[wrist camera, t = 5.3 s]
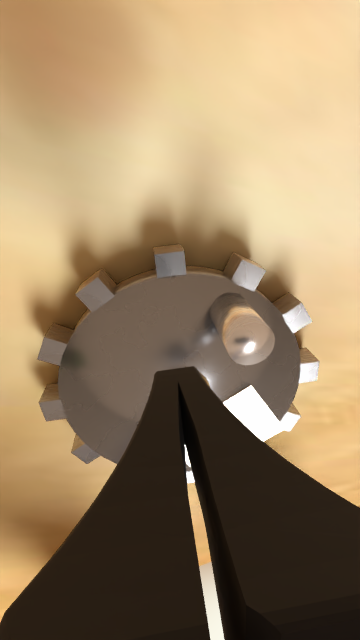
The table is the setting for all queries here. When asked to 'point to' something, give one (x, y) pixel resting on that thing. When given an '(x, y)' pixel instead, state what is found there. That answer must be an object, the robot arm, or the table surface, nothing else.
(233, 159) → the table surface
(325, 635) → the robot arm
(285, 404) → the sprocket disc
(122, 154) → the table surface
